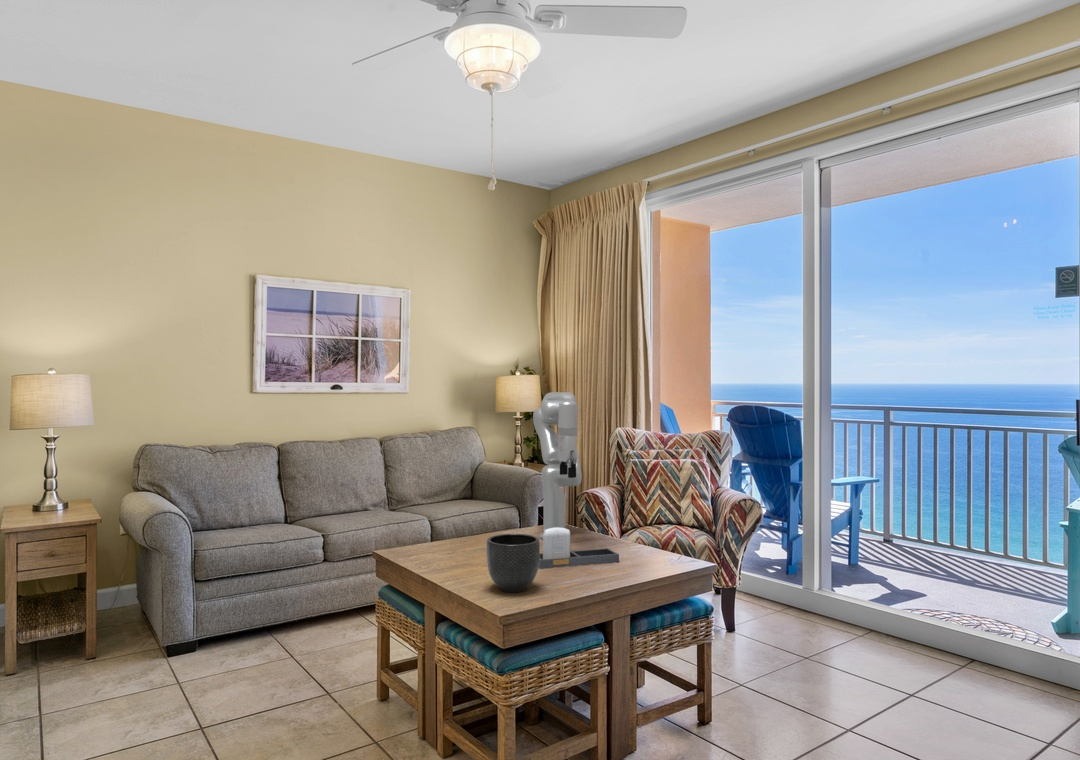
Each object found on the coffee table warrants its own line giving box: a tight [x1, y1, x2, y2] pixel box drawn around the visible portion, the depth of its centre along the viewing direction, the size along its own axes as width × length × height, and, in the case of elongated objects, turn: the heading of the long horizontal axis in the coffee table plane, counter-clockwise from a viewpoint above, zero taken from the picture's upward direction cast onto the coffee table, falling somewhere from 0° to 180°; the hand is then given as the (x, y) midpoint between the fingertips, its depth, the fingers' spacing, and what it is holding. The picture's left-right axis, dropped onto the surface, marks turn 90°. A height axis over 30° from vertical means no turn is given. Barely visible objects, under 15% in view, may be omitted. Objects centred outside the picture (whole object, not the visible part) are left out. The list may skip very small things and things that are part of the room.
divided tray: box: [538, 547, 620, 570], centre depth 252 cm, size 10×31×3 cm, turn 108°
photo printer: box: [542, 527, 571, 560], centre depth 250 cm, size 10×4×12 cm, turn 100°
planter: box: [486, 533, 541, 593], centre depth 219 cm, size 17×17×16 cm
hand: (567, 476), depth 266 cm, fingers open, 9 cm apart
